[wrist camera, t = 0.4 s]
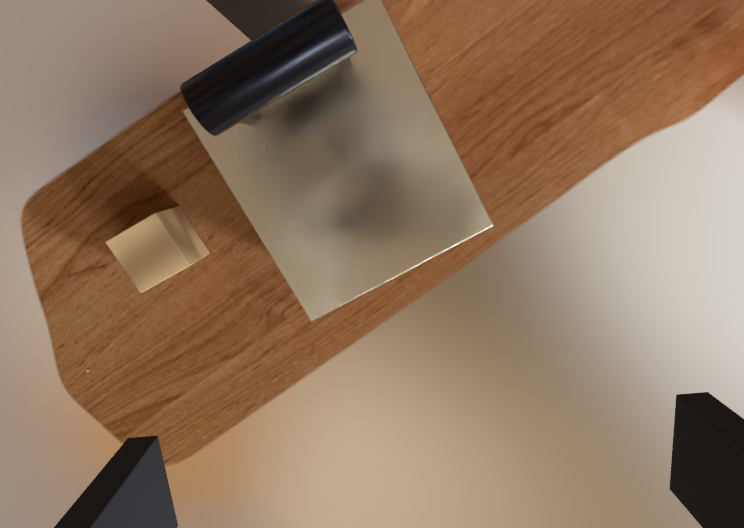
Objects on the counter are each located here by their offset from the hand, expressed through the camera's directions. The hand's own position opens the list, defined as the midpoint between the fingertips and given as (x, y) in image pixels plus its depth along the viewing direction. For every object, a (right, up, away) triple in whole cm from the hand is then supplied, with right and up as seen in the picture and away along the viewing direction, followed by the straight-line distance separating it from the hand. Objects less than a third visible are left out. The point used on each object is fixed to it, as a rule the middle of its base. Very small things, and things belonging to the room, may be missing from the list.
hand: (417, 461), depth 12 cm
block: (-18, +7, +27) cm, 33 cm away
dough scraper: (-3, +11, +16) cm, 20 cm away
